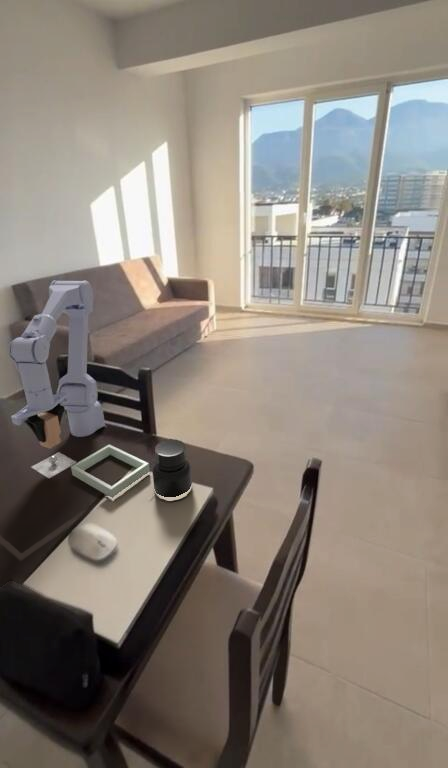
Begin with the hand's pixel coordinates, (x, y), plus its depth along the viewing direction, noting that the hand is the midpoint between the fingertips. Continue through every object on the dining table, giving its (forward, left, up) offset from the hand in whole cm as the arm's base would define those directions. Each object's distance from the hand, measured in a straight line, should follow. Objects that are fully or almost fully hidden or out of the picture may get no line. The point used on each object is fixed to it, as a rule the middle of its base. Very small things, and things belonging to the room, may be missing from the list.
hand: (49, 436), depth 96 cm
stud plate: (0, 0, -9) cm, 9 cm away
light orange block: (0, 0, -2) cm, 2 cm away
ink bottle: (-11, +31, -10) cm, 34 cm away
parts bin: (-6, +15, -9) cm, 18 cm away
